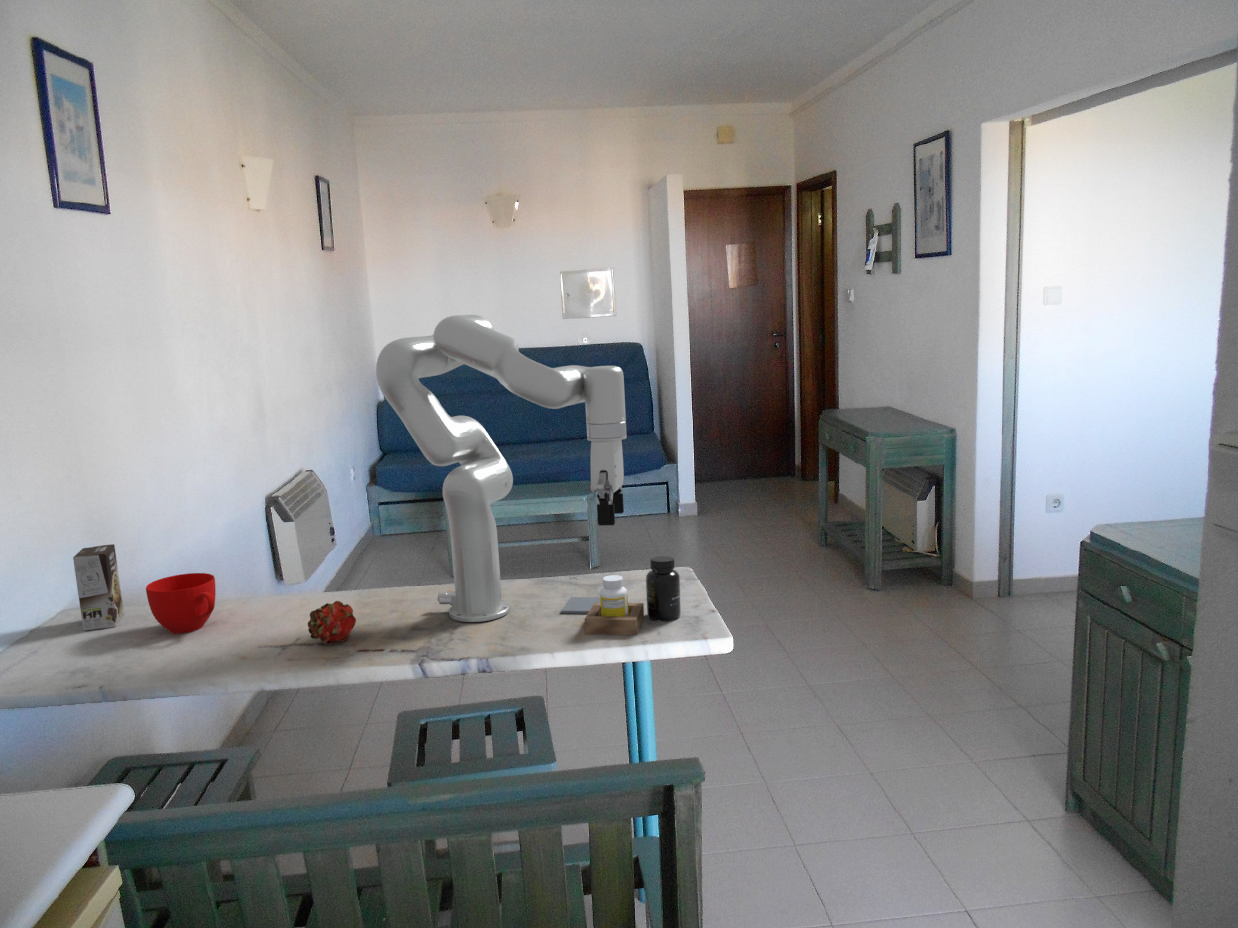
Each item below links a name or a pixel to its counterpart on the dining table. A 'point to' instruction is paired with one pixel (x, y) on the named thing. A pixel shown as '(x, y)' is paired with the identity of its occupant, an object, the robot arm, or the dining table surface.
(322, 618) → the dragon fruit
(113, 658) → the dining table surface
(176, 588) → the ceramic cup
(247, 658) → the dining table surface
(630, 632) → the walnut collar
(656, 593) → the supplement bottle
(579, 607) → the slate mat
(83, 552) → the coffee box
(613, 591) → the supplement bottle
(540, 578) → the dining table surface
